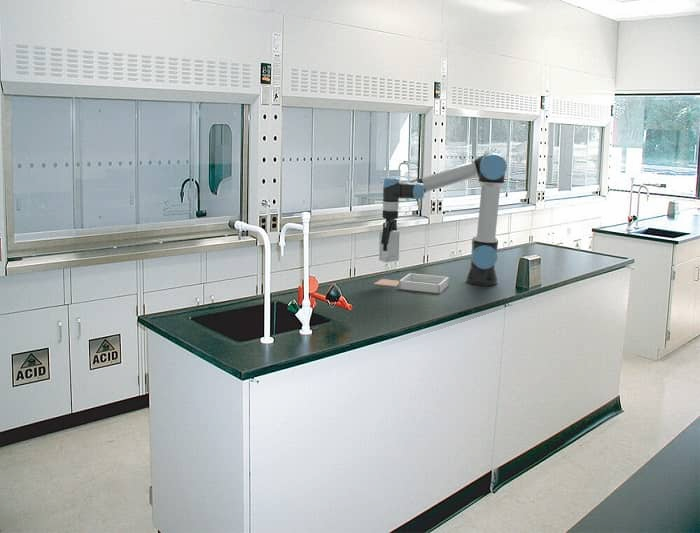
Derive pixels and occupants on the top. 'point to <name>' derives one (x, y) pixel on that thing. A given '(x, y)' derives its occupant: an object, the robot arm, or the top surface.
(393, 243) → the skincare box
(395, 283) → the tile
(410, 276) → the bin
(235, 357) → the top surface
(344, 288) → the top surface
